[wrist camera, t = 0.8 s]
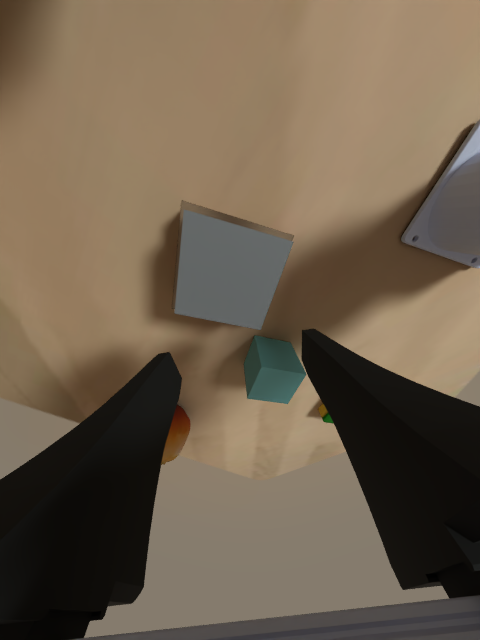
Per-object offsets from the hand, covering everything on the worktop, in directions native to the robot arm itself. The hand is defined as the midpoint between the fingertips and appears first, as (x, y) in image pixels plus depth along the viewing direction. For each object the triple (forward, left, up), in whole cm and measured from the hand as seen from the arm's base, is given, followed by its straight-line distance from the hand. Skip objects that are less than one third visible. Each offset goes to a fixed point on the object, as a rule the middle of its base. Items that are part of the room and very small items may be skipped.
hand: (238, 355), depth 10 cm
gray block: (+1, -3, -6) cm, 7 cm away
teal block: (-6, +7, -9) cm, 13 cm away
